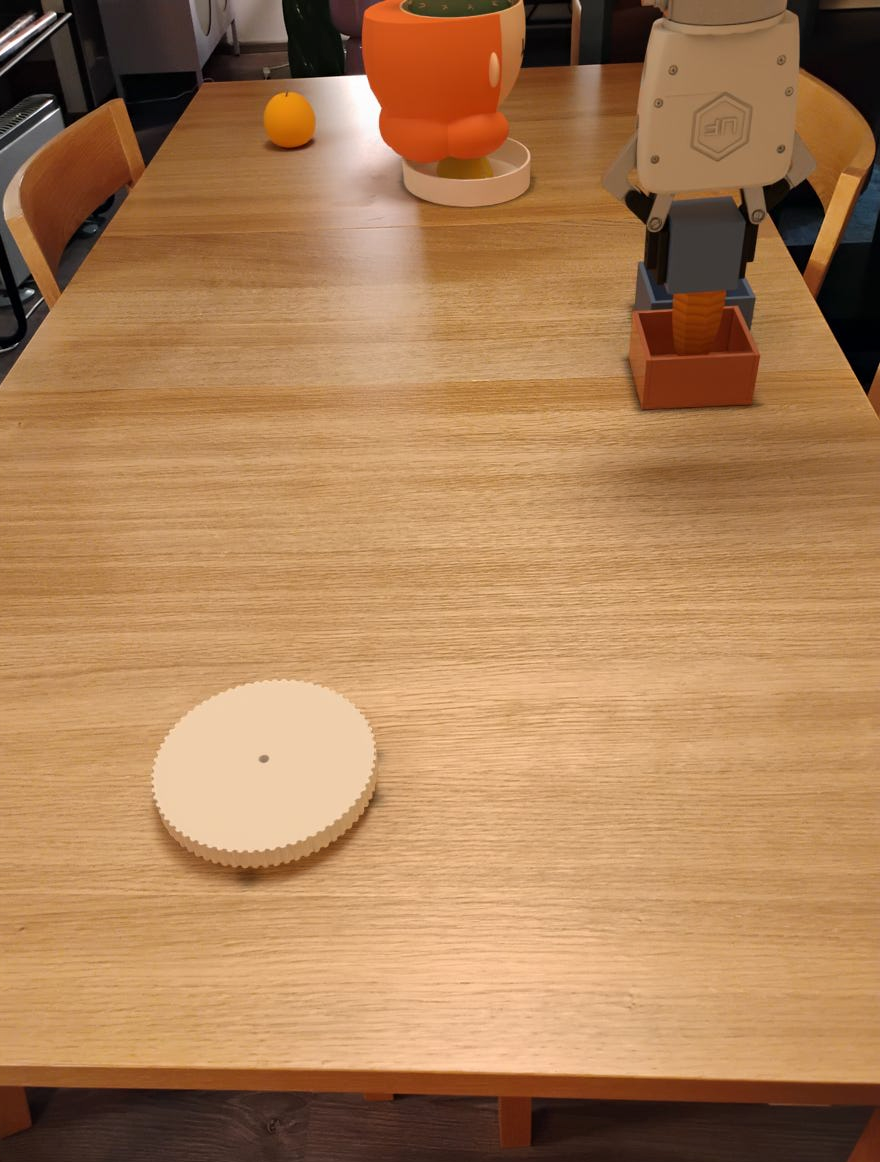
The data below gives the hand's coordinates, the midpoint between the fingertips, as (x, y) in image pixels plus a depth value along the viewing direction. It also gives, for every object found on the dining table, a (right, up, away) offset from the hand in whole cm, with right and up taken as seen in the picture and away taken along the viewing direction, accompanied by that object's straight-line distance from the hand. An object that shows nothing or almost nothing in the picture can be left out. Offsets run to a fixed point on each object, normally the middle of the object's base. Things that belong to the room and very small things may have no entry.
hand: (697, 272), depth 77 cm
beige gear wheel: (-30, -37, -11) cm, 49 cm away
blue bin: (+8, +5, +30) cm, 31 cm away
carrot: (+5, -3, +22) cm, 22 cm away
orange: (-39, +50, +85) cm, 106 cm away
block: (0, 0, 0) cm, 0 cm away
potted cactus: (-15, +36, +66) cm, 77 cm away
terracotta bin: (+5, -3, +22) cm, 23 cm away
